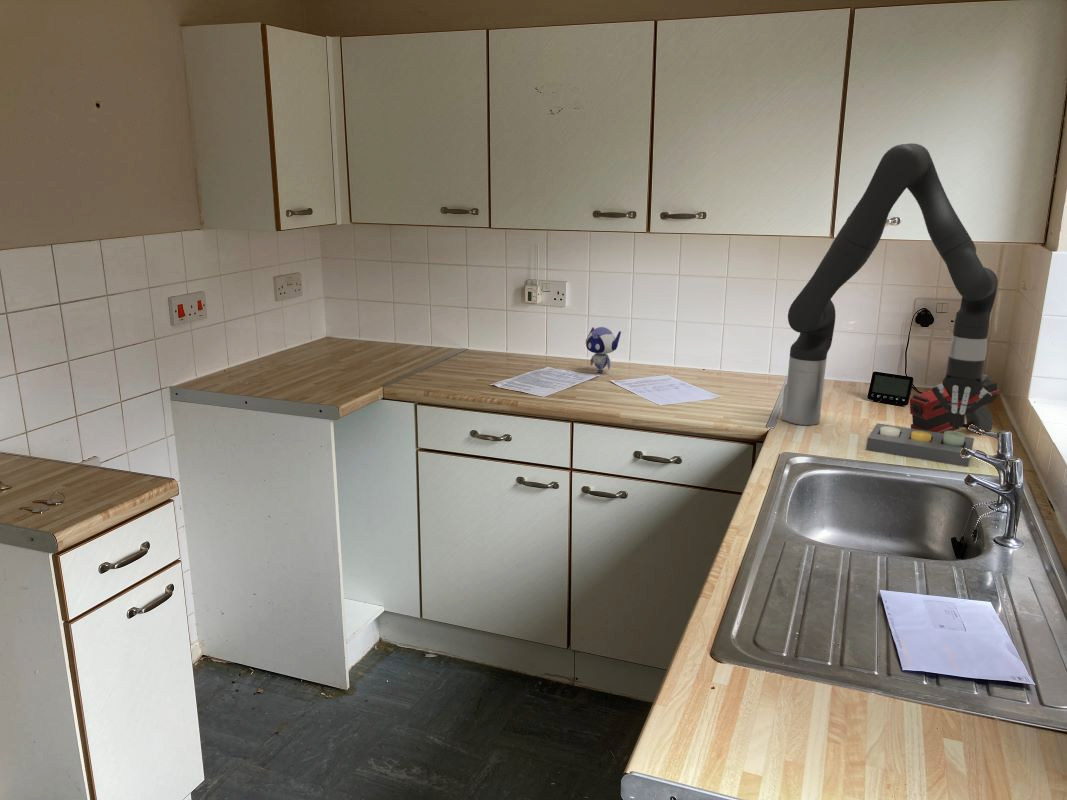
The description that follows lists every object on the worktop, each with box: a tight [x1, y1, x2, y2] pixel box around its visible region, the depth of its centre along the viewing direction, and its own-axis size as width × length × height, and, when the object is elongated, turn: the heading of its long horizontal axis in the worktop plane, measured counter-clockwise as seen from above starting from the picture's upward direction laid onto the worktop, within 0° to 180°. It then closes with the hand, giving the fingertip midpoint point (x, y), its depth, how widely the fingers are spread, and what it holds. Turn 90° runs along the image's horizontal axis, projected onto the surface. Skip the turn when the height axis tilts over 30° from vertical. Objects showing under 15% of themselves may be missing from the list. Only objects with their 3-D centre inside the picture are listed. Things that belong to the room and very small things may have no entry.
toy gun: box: [909, 373, 1000, 433], centre depth 215 cm, size 5×24×15 cm, turn 110°
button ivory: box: [880, 426, 900, 437], centre depth 207 cm, size 4×4×4 cm
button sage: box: [943, 430, 966, 447], centre depth 199 cm, size 4×4×4 cm
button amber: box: [911, 431, 932, 442], centre depth 203 cm, size 4×4×4 cm
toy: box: [585, 326, 622, 374], centre depth 271 cm, size 11×10×15 cm
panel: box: [865, 423, 975, 467], centre depth 203 cm, size 22×14×3 cm, turn 60°
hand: (956, 428), depth 199 cm, fingers closed
